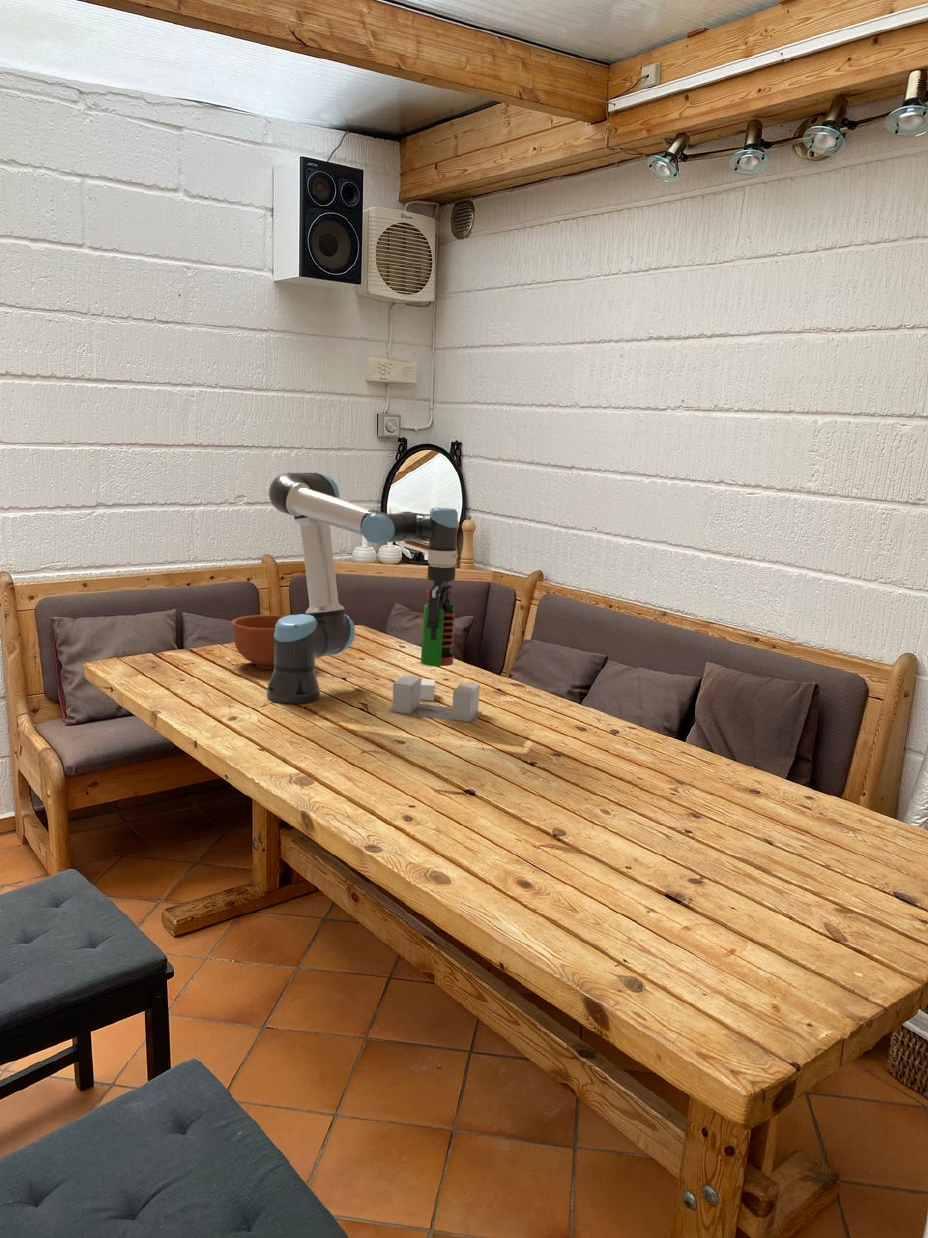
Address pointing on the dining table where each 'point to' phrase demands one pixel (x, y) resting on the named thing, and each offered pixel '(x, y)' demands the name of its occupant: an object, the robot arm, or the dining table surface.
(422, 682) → the loose relay
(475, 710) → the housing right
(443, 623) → the motor
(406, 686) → the block
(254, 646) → the bowl
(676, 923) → the dining table surface
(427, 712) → the rail plate
